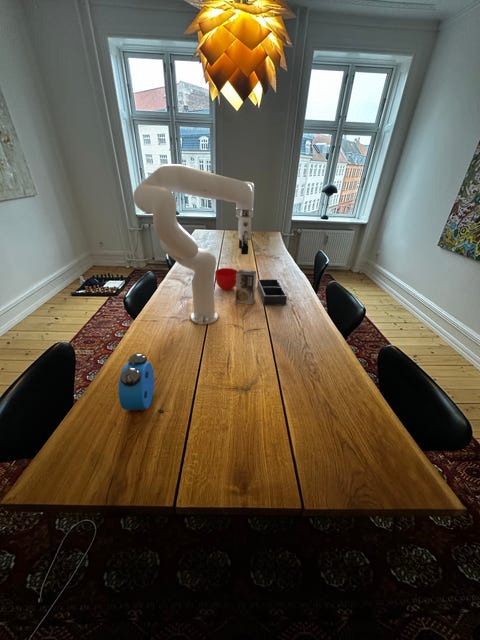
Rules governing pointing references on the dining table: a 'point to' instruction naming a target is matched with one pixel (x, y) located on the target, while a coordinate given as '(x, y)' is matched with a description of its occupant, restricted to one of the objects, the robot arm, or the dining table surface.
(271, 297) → the black divided tray
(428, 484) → the dining table surface
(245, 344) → the dining table surface
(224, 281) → the ceramic cup
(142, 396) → the alarm clock
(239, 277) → the coffee box
